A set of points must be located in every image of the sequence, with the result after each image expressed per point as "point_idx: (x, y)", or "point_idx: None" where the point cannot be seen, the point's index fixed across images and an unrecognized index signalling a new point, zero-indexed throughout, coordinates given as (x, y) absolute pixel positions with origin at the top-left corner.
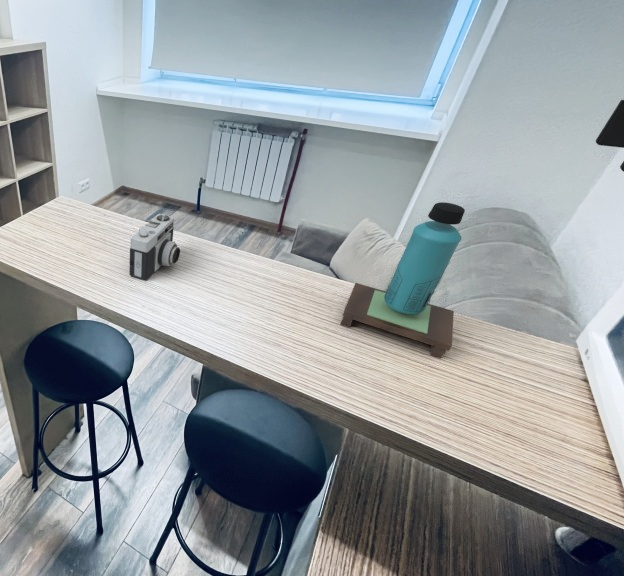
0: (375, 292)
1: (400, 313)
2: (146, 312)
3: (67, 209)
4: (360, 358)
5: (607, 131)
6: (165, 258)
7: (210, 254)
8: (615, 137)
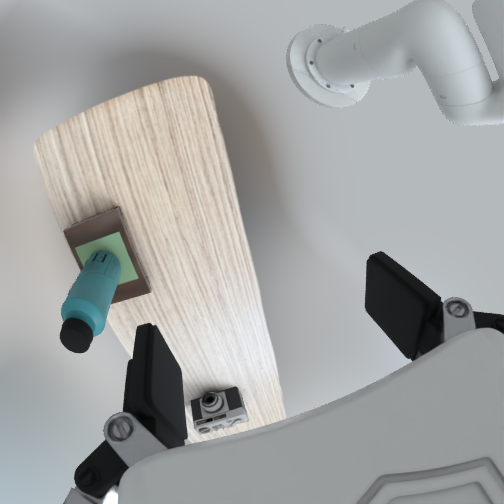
0: None
1: None
2: (265, 363)
3: None
4: (177, 249)
5: (182, 388)
6: (220, 398)
7: None
8: (174, 369)
